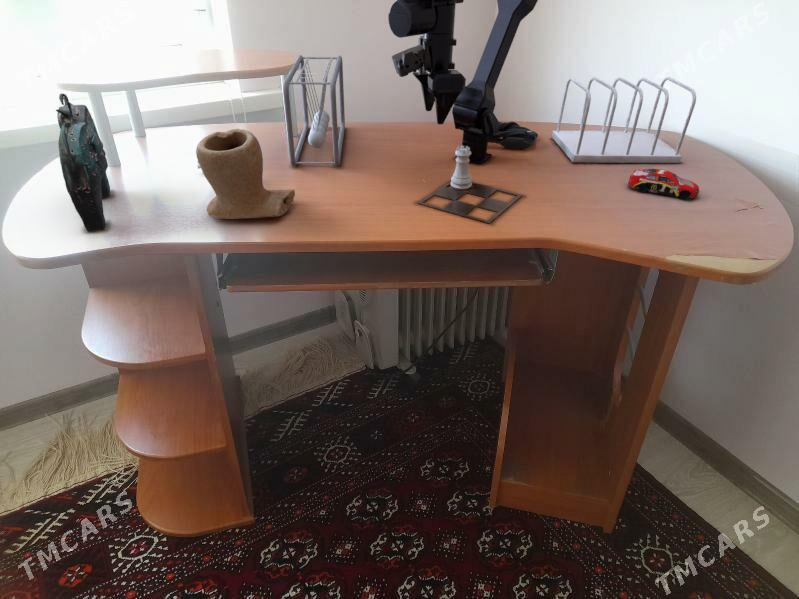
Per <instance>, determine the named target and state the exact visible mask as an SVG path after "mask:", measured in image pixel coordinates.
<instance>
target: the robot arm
mask: <svg viewBox="0 0 799 599" xmlns="http://www.w3.org/2000/svg"><path fill="white" fill-rule="evenodd" d="M464 1H465V0H396V1H394V2H393V4H392V5H391V7H390V10H389V13H388V16H387V18H388V26H389V28H390V31H391V32H392V34H393V35H394V36H395V37H397V38H399V39H400V38H401V39H402V38H407V37H414V36H415V37H416V36H419V38H418V45H415V46H412V47H409V48H407V49H405V50H402V51H400V52H397V53H395V54H393V55H392V56H391V60H392V62H393V66H394V69H395V71H396V74H397V75H398V76H399V77H400V78H404V77H406V76H408V75H409V74H410V73H412V75H413V76H414V78H416V79H417V80H418V82H419V84H420V87H421V93H422V98H423V103H424V107H425V111H426V112H431V111H433V107H434V105H435V115H436V123H437V125H443V124H444V123H445V121H446V119H447V117H448V115H449V114H450V112H451V113H452V118H453V124H454V128H455V130H460V131H462V140H461V147H462V146H464V148H466V146H468V148H470V151H471V155H470V156H469V160H470V161H469V163H472V164H476V165H481V164H483V163H484V162H486V161H487V160H490V159H491V158H492V157H493V154H492V153H488V145H489V142H488V136H494V135H495V134H496V133H497V132H498V129H499V126H500V123H499V122H500V121H499V120H498V118H497V116H496V115H495V113H494V112H495V108H496V105H497V104H496V96H495V87H496V85H497V82H498V80H499V77H500V75H501V72H502V69H503V67H504V64H505V62H506V59H507V57H508V54H509V52H510V49H511V47H512V44H513V42H514V39H515V36H516V34H517V31H518V29H519V27H520V24H521V22H522V21H523V20H524V19H525V18H526V17H527V16H528V15H529V14H530V13H531V12H533V10H535V7H536V5H537V3H538V1H539V0H496V4H497V15H496V17H495V20H494V22H493V25H492V27H491V30H490V33H489V36H488V38H487V41H486V44H485V46H484V49H483V52H482V53H481V54H482V55H481V57H480V60H479V63H478V64H477V67H476V70H475V72H474V75H473V78H472V80H471V81H470V82H469V83H468V84H467V85H466V82H467V79H466V77H465V76H464V75H463V73H462V72H460V71H459V70H458V69H456V63H455V62H453V53H454V47H456V46H457V39H456V38H455V21H456V20H455V19H456V5H457V4H463V3H464ZM454 156H455V157H454V159H455V160H456V159H457V156H456V155H454Z"/></svg>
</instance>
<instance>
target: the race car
mask: <svg viewBox="0 0 799 599" xmlns="http://www.w3.org/2000/svg"><path fill="white" fill-rule="evenodd" d="M627 185H628V186H629V187H631V188H633V189H635V190H638V191H639V192H640V193H645V192H649V193H655V194H659V195H660V194H661V195H666V196H670V197H671V196H672V197H677V198H678V197H679V198H680V199H681V200H685V201H686V200H688V199H689V198H690V199H693V198H696V197H697V196H698V195H699V193H700V186H699V185H698V184H697V183H696V182H694V181H692V180H689V179H686V178H683V177H680V176H678V175H677V174H676V173H674V172H673V171H670V170H667V169H660V168H644V169H635V170H633V172H632V174H631V175H629V178H628V181H627Z"/></svg>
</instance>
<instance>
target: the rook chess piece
mask: <svg viewBox="0 0 799 599" xmlns="http://www.w3.org/2000/svg"><path fill="white" fill-rule="evenodd" d="M454 153H455V156H457V159H455V162H456V164H455V170H454V172H453V174H452V176H451V177H450V181H451V183H450V185H449V186H451V187H452V189H456V190H460V191H465V190H466V191H467V190H470V189H471V188H472V187H473V185H472V183H473V178H472V176H471V173H470V169H469V168H470V167H469V165H470V164H469V163H470V162H469V161H470V160H469V156H470V155H471V151H470V148H468V146H466V148H464V146H462V145H461V146H460V145H459V146H457V147H456V150H455V151H454ZM471 182H472V183H471Z"/></svg>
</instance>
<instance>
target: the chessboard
mask: <svg viewBox="0 0 799 599" xmlns="http://www.w3.org/2000/svg"><path fill="white" fill-rule="evenodd" d="M450 183H451V180H450V181H449V182H447V183H445V184H444V185H442V186H441V187H439V188H437V189H436V190H435V191H433V192H432V193H431V194H429V195H427V196H426V197H425V198H423V199H422V200H420V201H418V202H417V205H421V206H425V207H428V208H432V209H435V210H439V211H442V212H446V213H448V214H453V215H457V216H460V217H463V218H467V219H470V220H473V221H478V222H481V223H485V224H488V225H490V224H491V223H492V222H494V221H495V220H496V219H497V218H498V217H499V216H500V215H502V214H503V213H504V212H506V210H508V209H509V208H510V207H511V206H512V205H513V204H514V203H515V202H517V201H518V200H519V199H520V198H522V196H523V194H521V193H516V192H513V191H508V190H505V189H500V188H497V187H493V186H488V185H485V184H480V183H476V182H473V181H471V183H472V186H471V187H470V188H469V189H467V190H466V191H464V190H457V189H454V188H453V187H452V188H451V187H449V186H451V185H450ZM496 192H500V193H504V194H509V195H512V196H515V197H514V198H512V200H511V201H510V202H506V201H501V200H498V199H494V198H490V197H491V196H492V195H493V194H495V193H496ZM465 194H468V195H472V196H475V197H479V198H484V199H483V200H482V201H480V202H479V203H478V204H477V205H474V204H470V203H467V202H463V201H460V200H458V199H460V198H461V197H462V196H464V195H465ZM434 196H435V197H439V198H443V199H447V200H450V201H452V202H449V203H448V204H447V205H446V206H445V207H440V206H436V205H433V204H430V203H425V202H426V201H428V200H430V199H431V198H432V197H434ZM475 208H478V209H479V208H480V209H483V210H487V211H491V212H494V213H496V214H494V215H493V216H491V217H490V219H488V220H486V219H482V218H478V217H475V216H471V215H468V214H469V213H470V212H472V211H473V210H474V209H475Z"/></svg>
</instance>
